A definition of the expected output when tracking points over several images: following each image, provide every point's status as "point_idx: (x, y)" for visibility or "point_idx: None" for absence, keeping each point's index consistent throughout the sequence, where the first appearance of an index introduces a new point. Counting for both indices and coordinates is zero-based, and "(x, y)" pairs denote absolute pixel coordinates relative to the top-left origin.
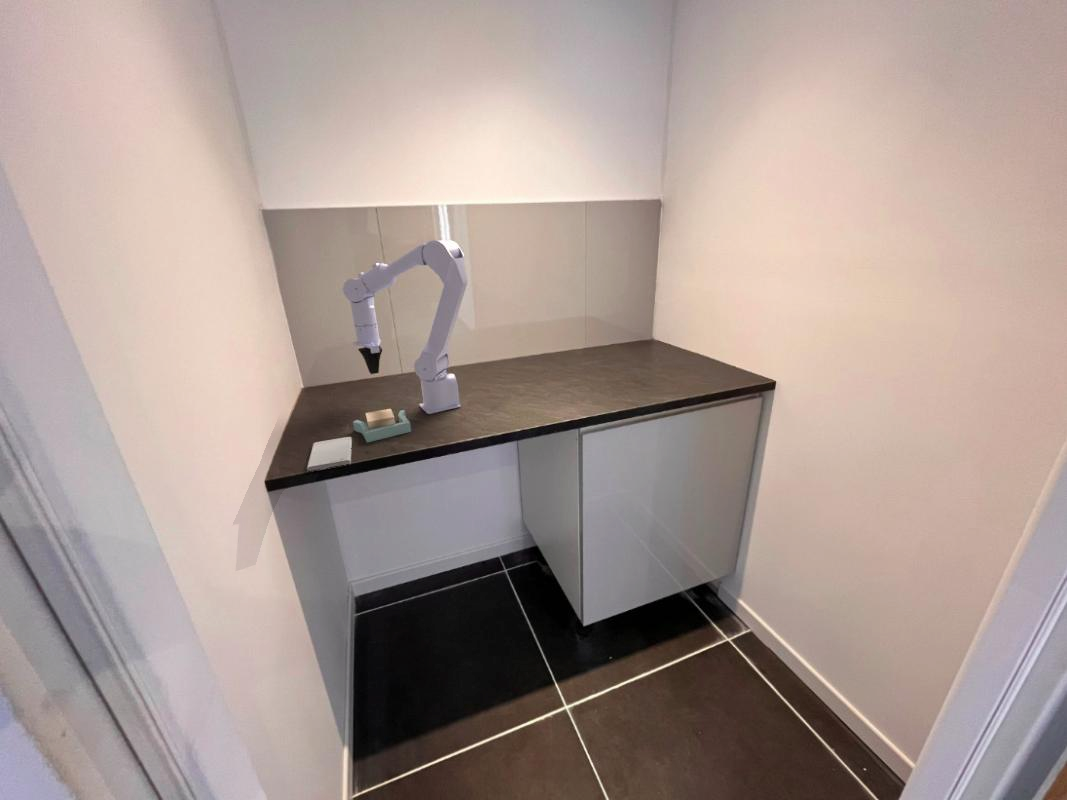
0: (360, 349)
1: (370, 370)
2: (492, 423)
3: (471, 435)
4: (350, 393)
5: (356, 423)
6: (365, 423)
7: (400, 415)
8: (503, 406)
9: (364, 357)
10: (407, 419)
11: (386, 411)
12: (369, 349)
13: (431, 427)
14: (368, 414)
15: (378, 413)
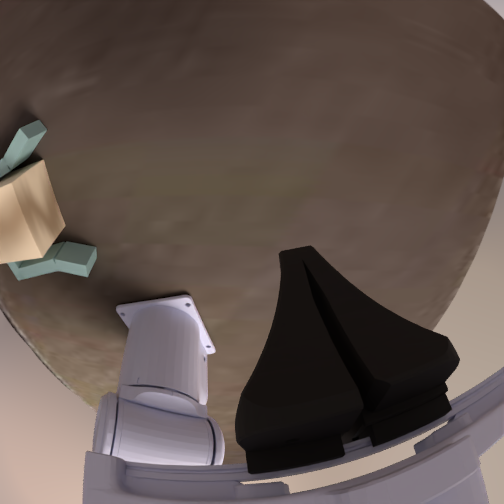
0: (412, 383)
1: (281, 270)
2: (75, 367)
3: (32, 338)
4: (438, 100)
5: (12, 142)
6: (5, 173)
7: (50, 264)
8: None
9: (261, 360)
10: (30, 277)
11: (23, 246)
12: (246, 463)
13: (50, 299)
14: (3, 194)
15: (9, 224)
